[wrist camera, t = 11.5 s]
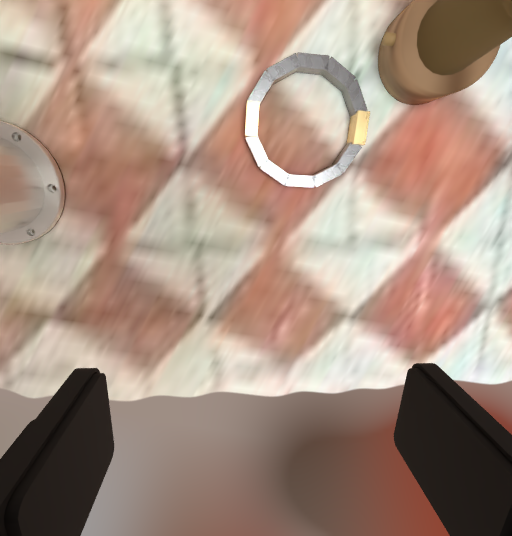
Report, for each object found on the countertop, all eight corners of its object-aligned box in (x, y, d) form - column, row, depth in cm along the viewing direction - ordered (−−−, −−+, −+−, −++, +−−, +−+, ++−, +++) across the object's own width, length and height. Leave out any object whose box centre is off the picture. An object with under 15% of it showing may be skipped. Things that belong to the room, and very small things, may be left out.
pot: (363, 100, 33) (386, 87, 28) (379, -3, 30) (406, -36, 25) (458, 108, 33) (495, 98, 29) (481, 9, 31) (526, -21, 26)
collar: (242, 182, 34) (242, 183, 32) (248, 53, 31) (249, 45, 29) (350, 189, 35) (357, 190, 33) (369, 65, 32) (378, 58, 30)
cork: (439, -20, 26) (580, -153, 15) (497, 14, 27) (667, -89, 16) (404, 57, 27) (510, -15, 17) (460, 87, 28) (593, 36, 18)
